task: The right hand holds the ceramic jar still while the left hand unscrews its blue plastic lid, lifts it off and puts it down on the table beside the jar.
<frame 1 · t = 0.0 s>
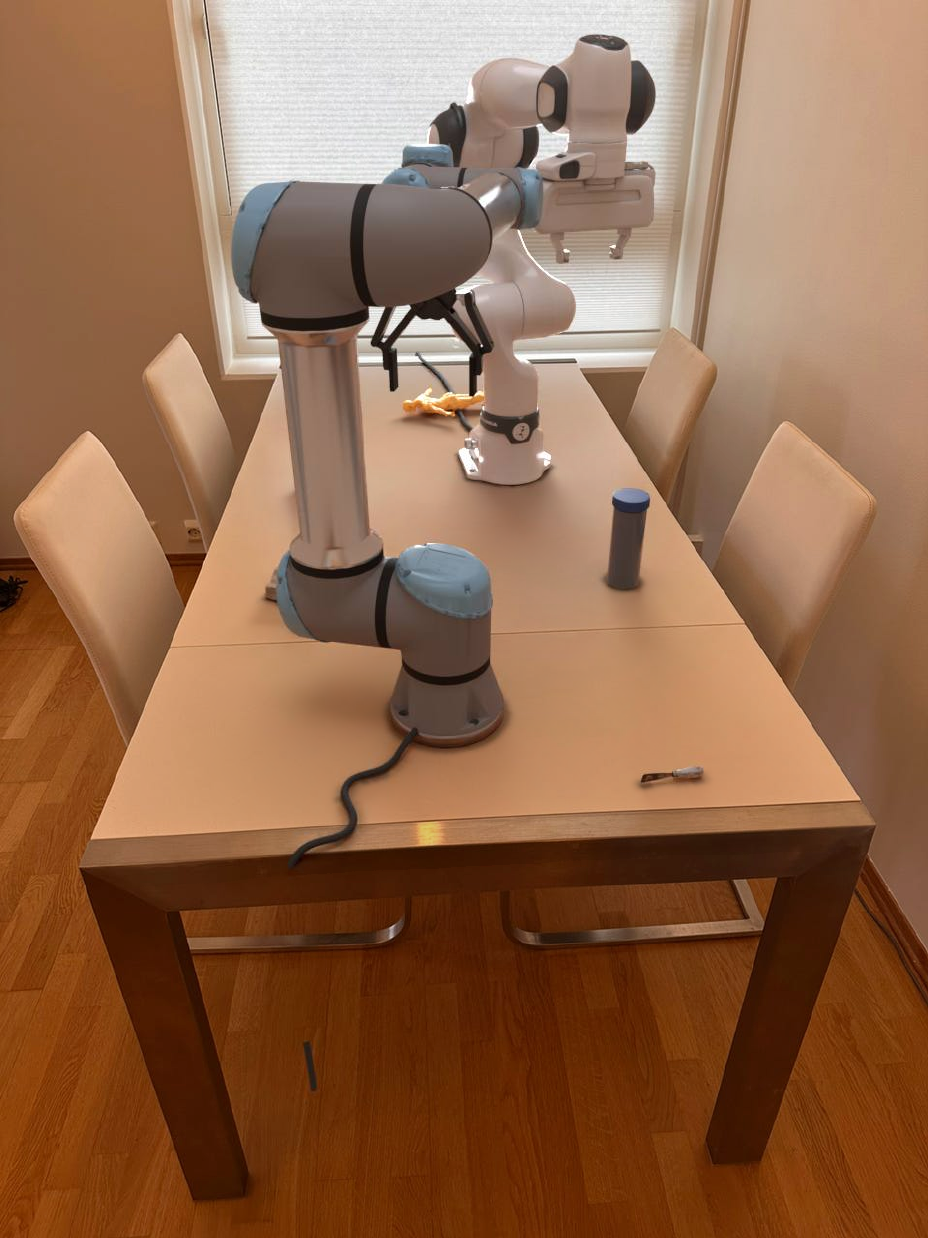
left hand: (433, 391, 149), 28 cm above the table, tool pointing down, fingers open, 13 cm apart
right hand: (589, 260, 142), 48 cm above the table, tool pointing down, fingers open, 8 cm apart
jar: (622, 581, 151), on the table
handgun: (329, 499, 180), on the table
putty knife: (671, 781, 109), on the table
human figure: (450, 410, 226), on the table
stone: (304, 597, 147), on the table
lid: (631, 497, 143), point 16 cm above the table, screwed on, not yet turned
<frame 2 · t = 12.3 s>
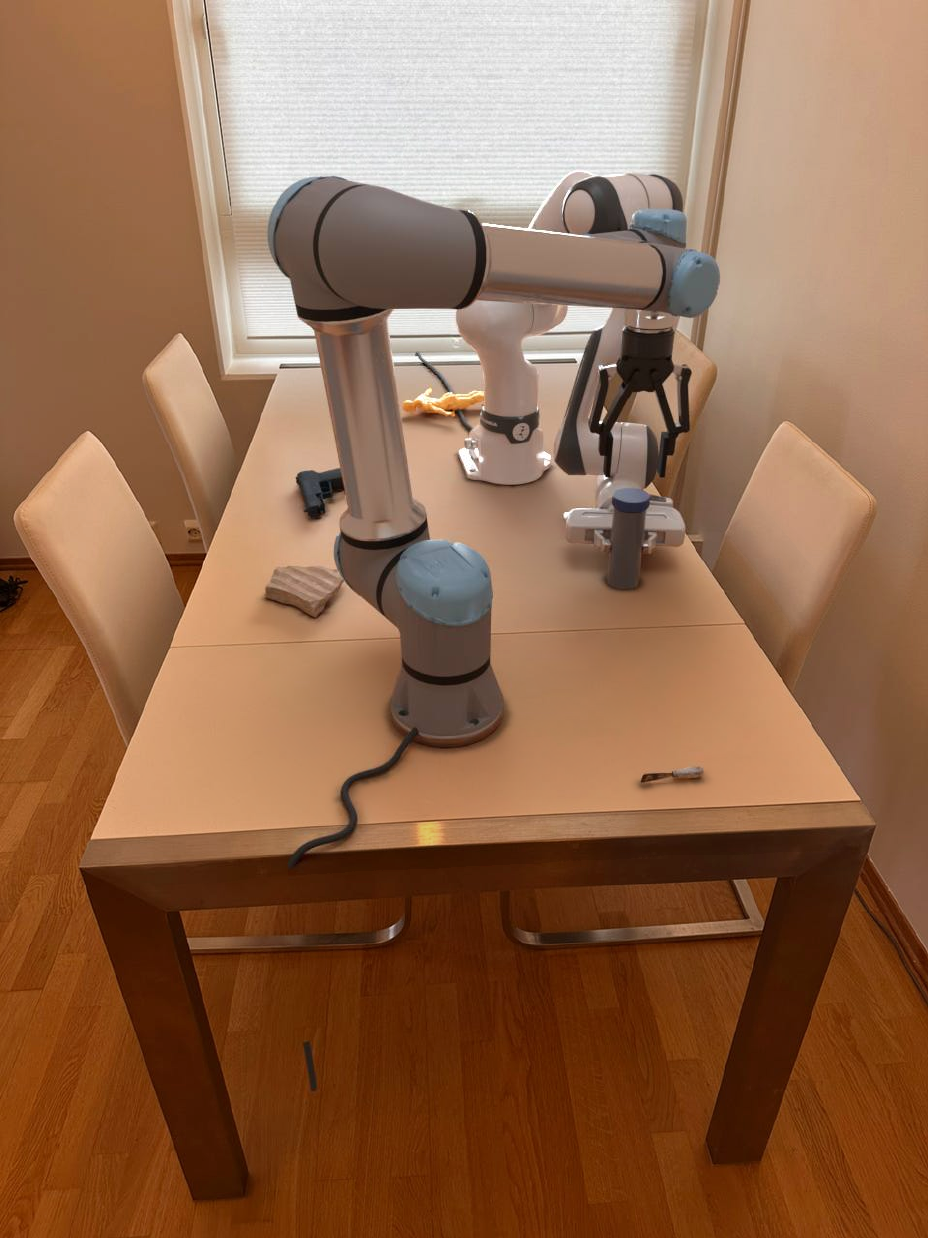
left hand: (633, 474, 141), 20 cm above the table, tool pointing down, fingers open, 8 cm apart
right hand: (626, 549, 147), 7 cm above the table, tool horizontal, fingers closed on jar, 5 cm apart
jar: (622, 581, 151), on the table, touching right hand
everything else where it was.
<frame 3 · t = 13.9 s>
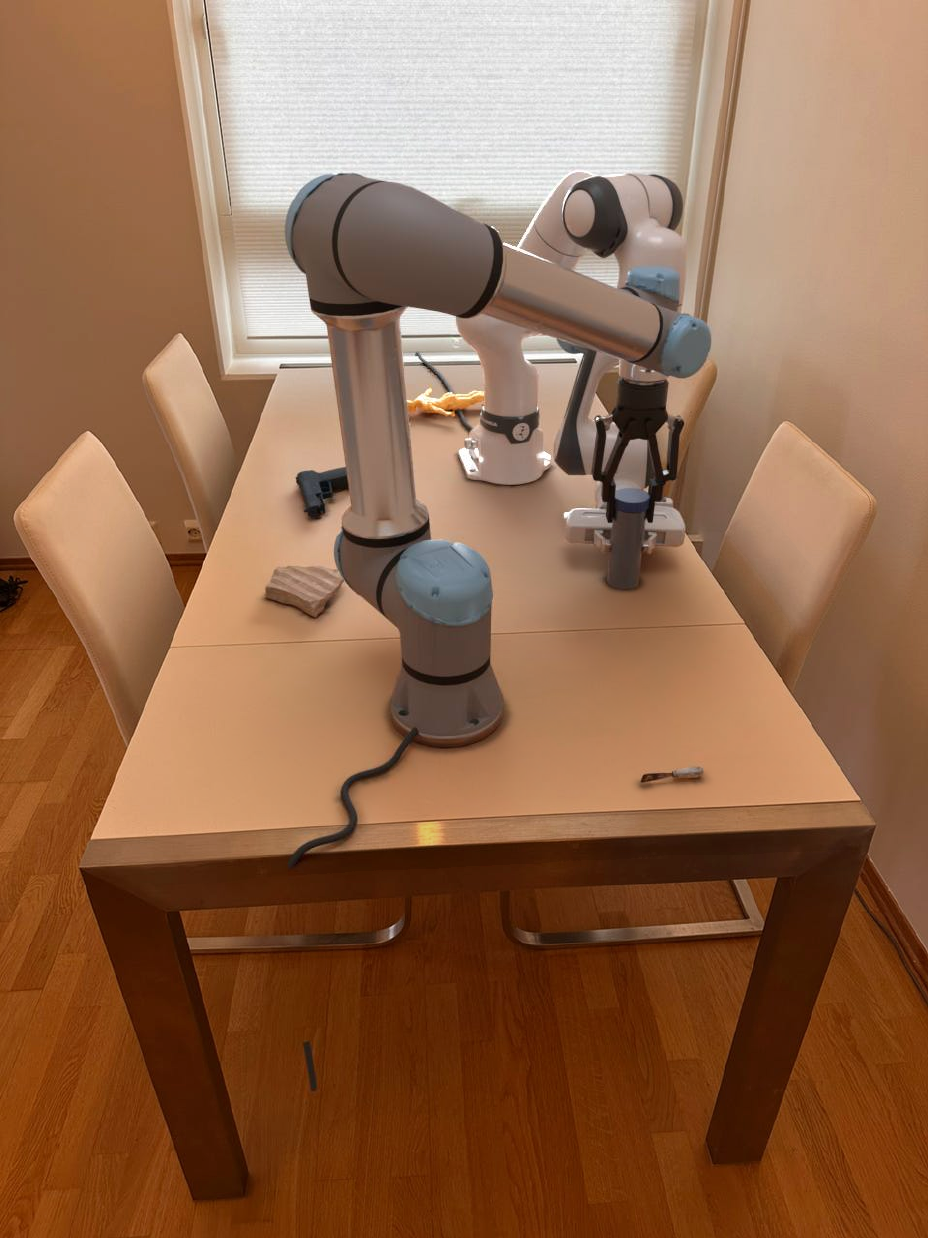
left hand: (629, 518, 145), 12 cm above the table, tool pointing down, fingers closed on lid, 6 cm apart
right hand: (626, 549, 147), 7 cm above the table, tool horizontal, fingers closed on jar, 5 cm apart
jar: (622, 581, 151), on the table, touching right hand
lid: (631, 497, 143), point 16 cm above the table, screwed on, not yet turned, touching left hand
everything else where it was.
when the left hand's fingers open (12 cm above the table, at t = 15.5 s): lid stays where it is, point 16 cm above the table.
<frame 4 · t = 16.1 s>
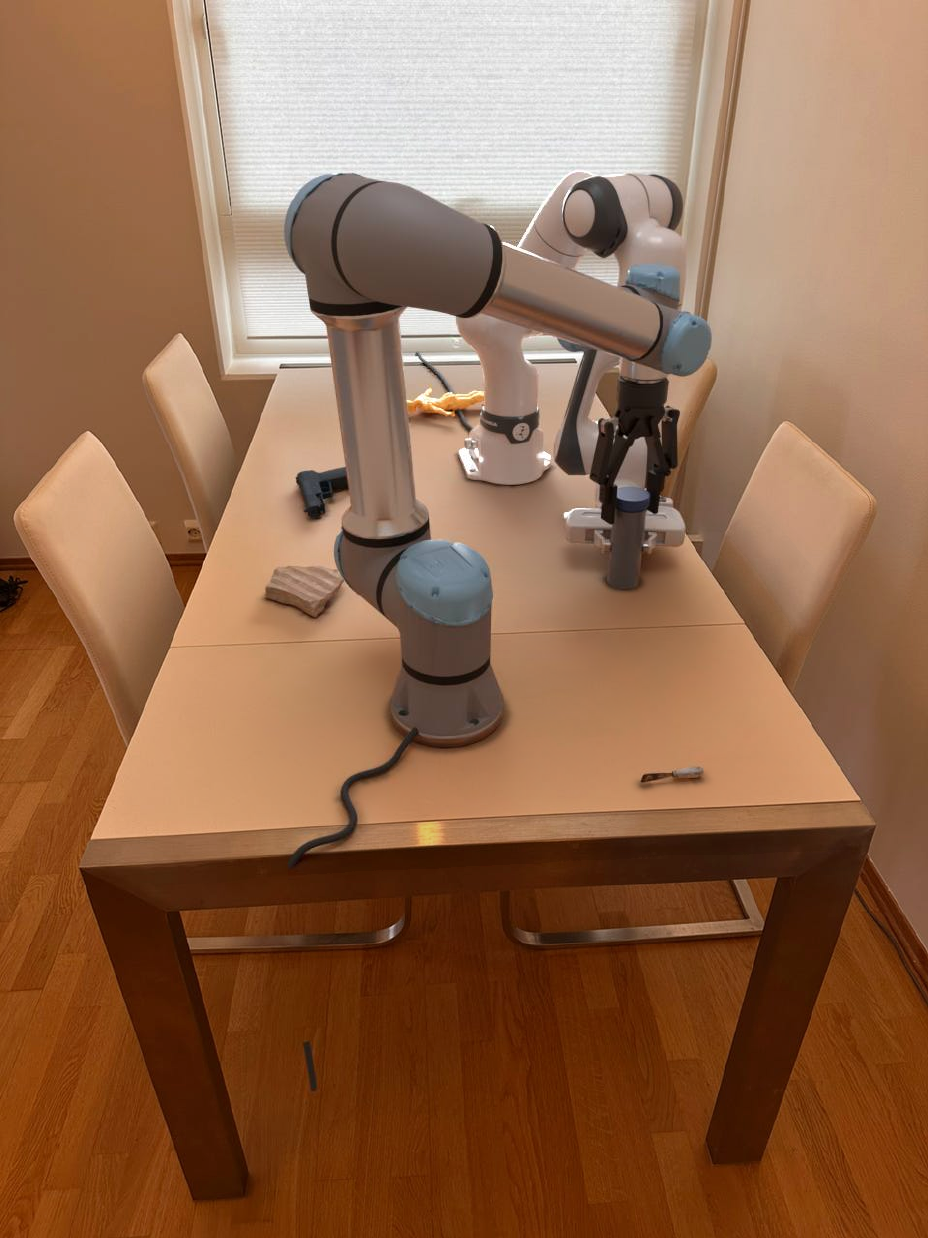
left hand: (629, 515, 145), 12 cm above the table, tool pointing down, fingers open, 8 cm apart
right hand: (626, 549, 147), 7 cm above the table, tool horizontal, fingers closed on jar, 5 cm apart
jar: (622, 581, 151), on the table, touching right hand
lid: (631, 495, 143), point 16 cm above the table, turned 101° so far, risen 0.3 cm, still on its thread
everything else where it was.
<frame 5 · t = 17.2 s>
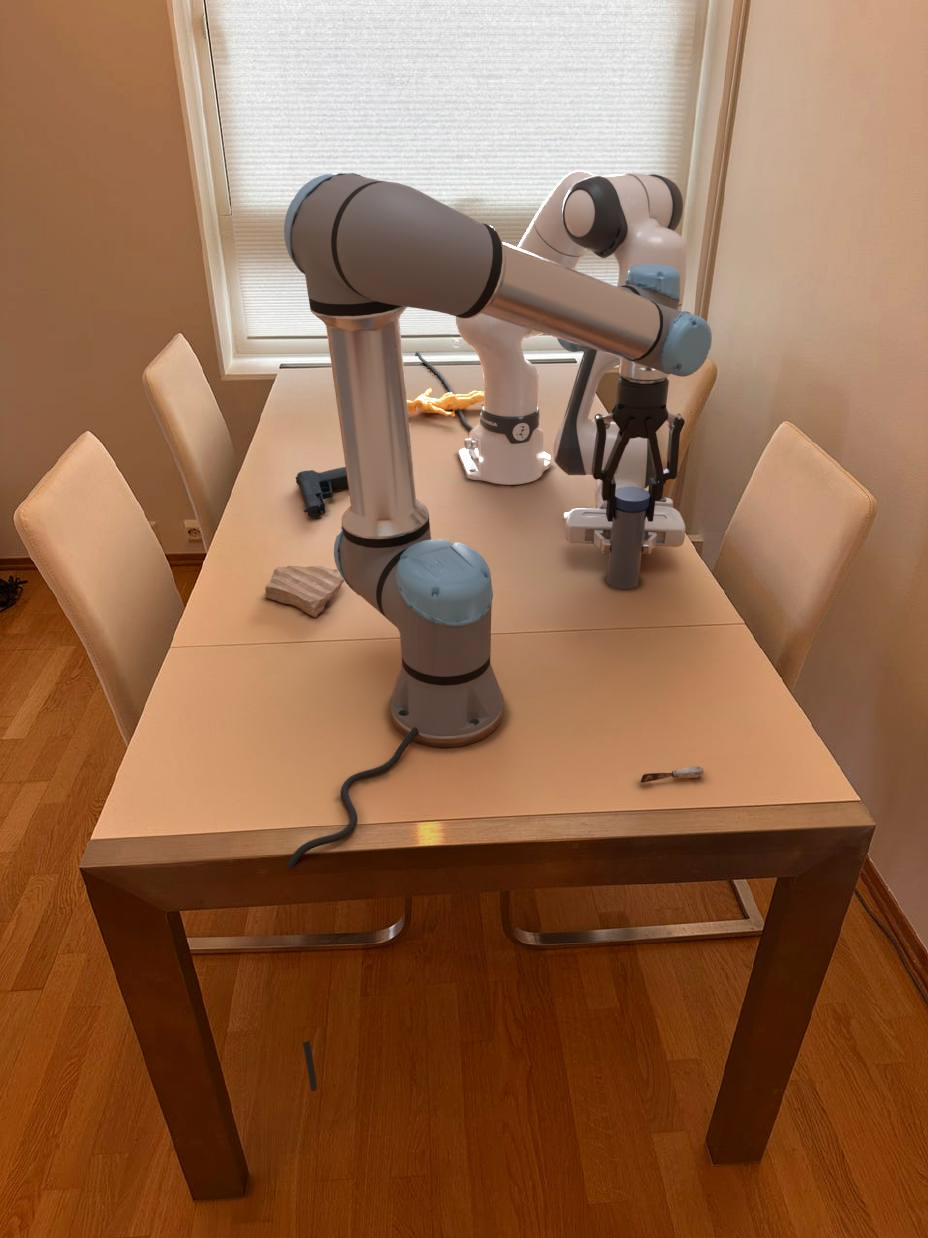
left hand: (629, 517, 145), 12 cm above the table, tool pointing down, fingers closed on lid, 6 cm apart
right hand: (626, 549, 147), 7 cm above the table, tool horizontal, fingers closed on jar, 5 cm apart
jar: (622, 581, 151), on the table, touching right hand
lid: (631, 495, 143), point 16 cm above the table, turned 101° so far, risen 0.3 cm, still on its thread, touching left hand
everything else where it was.
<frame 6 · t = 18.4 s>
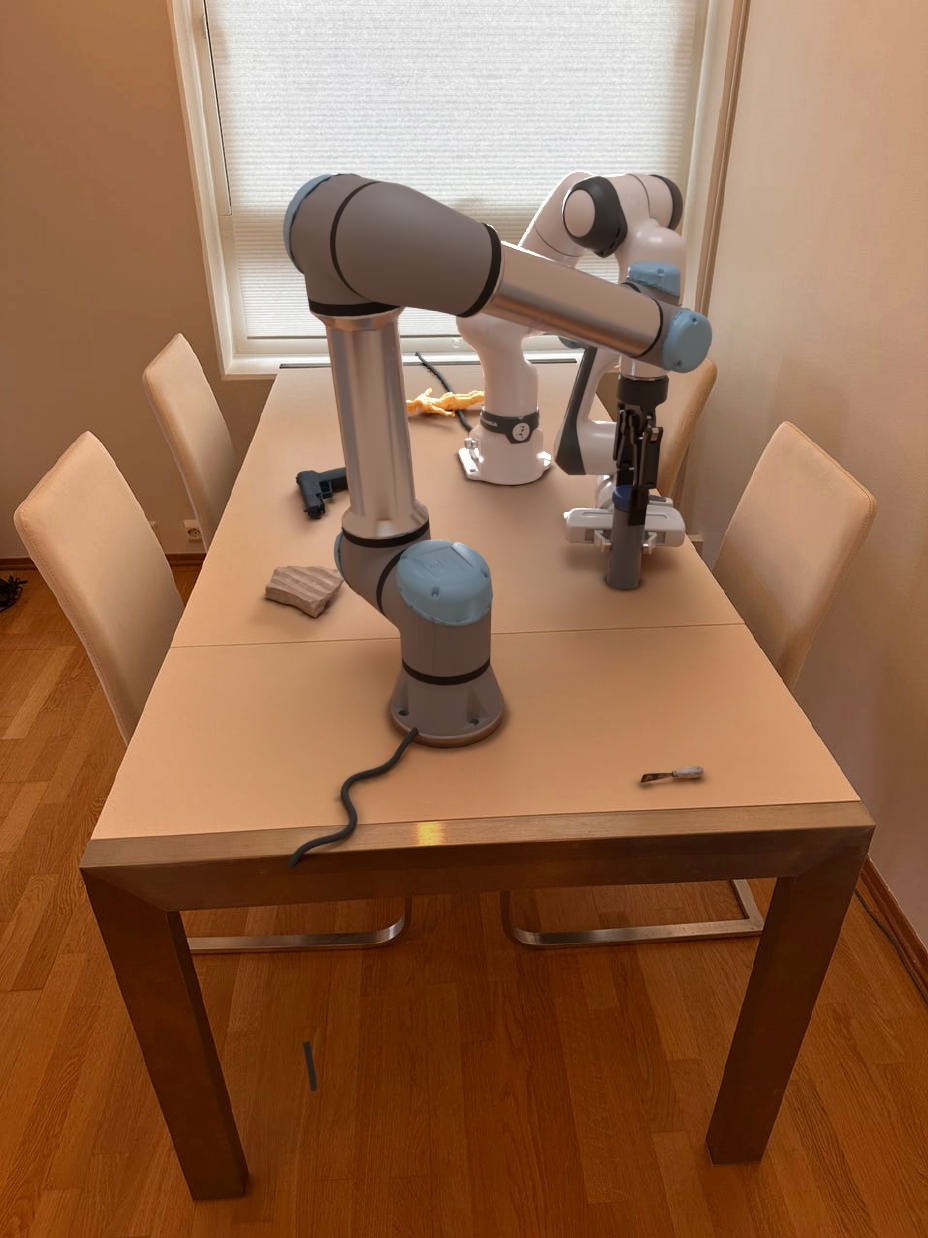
left hand: (629, 515, 145), 12 cm above the table, tool pointing down, fingers closed on lid, 6 cm apart
right hand: (626, 549, 147), 7 cm above the table, tool horizontal, fingers closed on jar, 5 cm apart
jar: (622, 581, 151), on the table, touching right hand
lid: (631, 493, 143), point 16 cm above the table, off its thread, touching left hand
everything else where it was.
when the left hand's fingers open (0 cm above the table, at t = 24.3 s): lid drops 3 cm, point 1 cm above the table.
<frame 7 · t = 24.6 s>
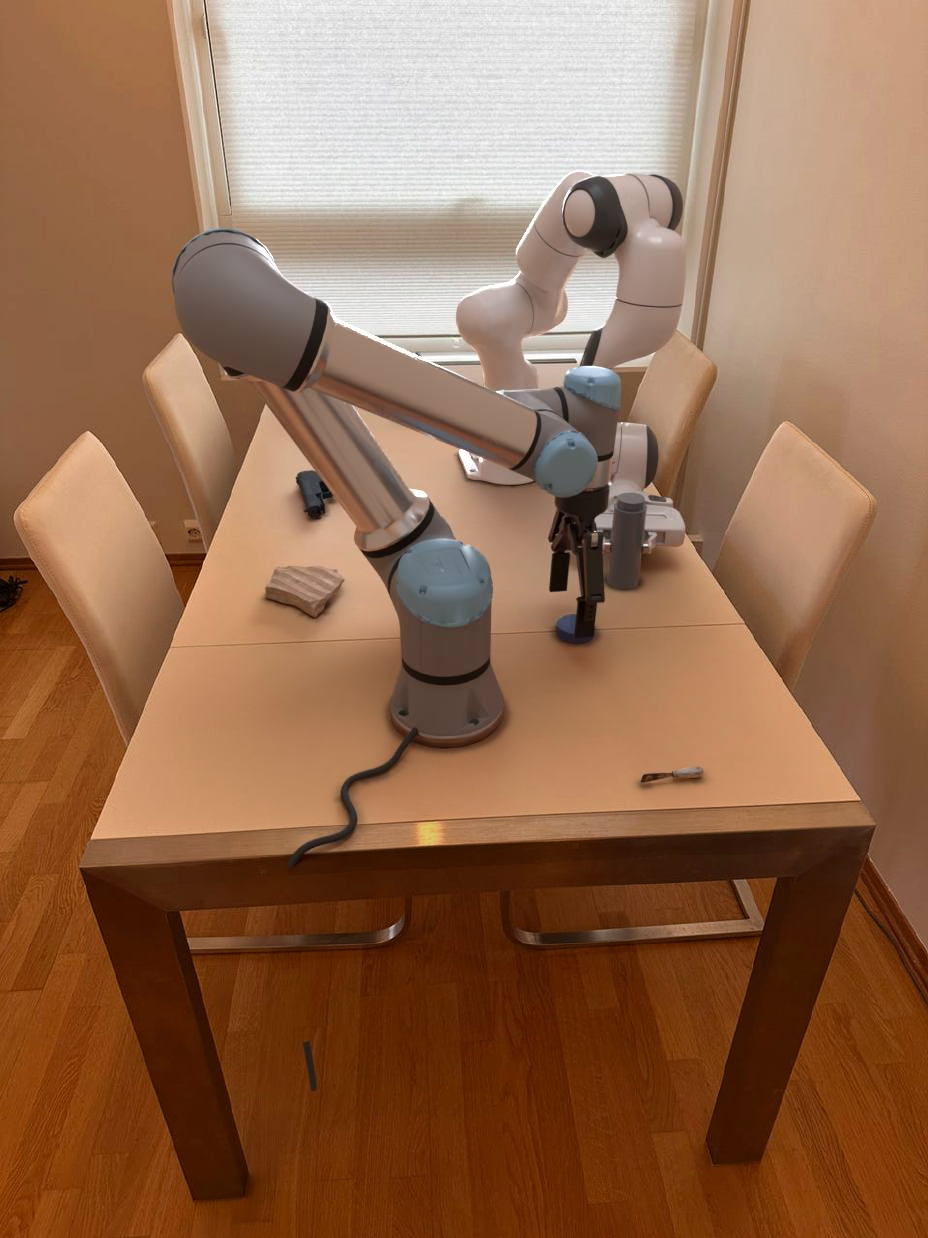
left hand: (570, 612, 135), 4 cm above the table, tool pointing down, fingers open, 13 cm apart
right hand: (626, 549, 147), 7 cm above the table, tool horizontal, fingers closed on jar, 5 cm apart
jar: (622, 581, 151), on the table, touching right hand
lid: (575, 625, 137), point 1 cm above the table, off its thread
everything else where it was.
when the right hand's fingers open (7 cm above the table, at t = 25.0 s): jar stays where it is, on the table.
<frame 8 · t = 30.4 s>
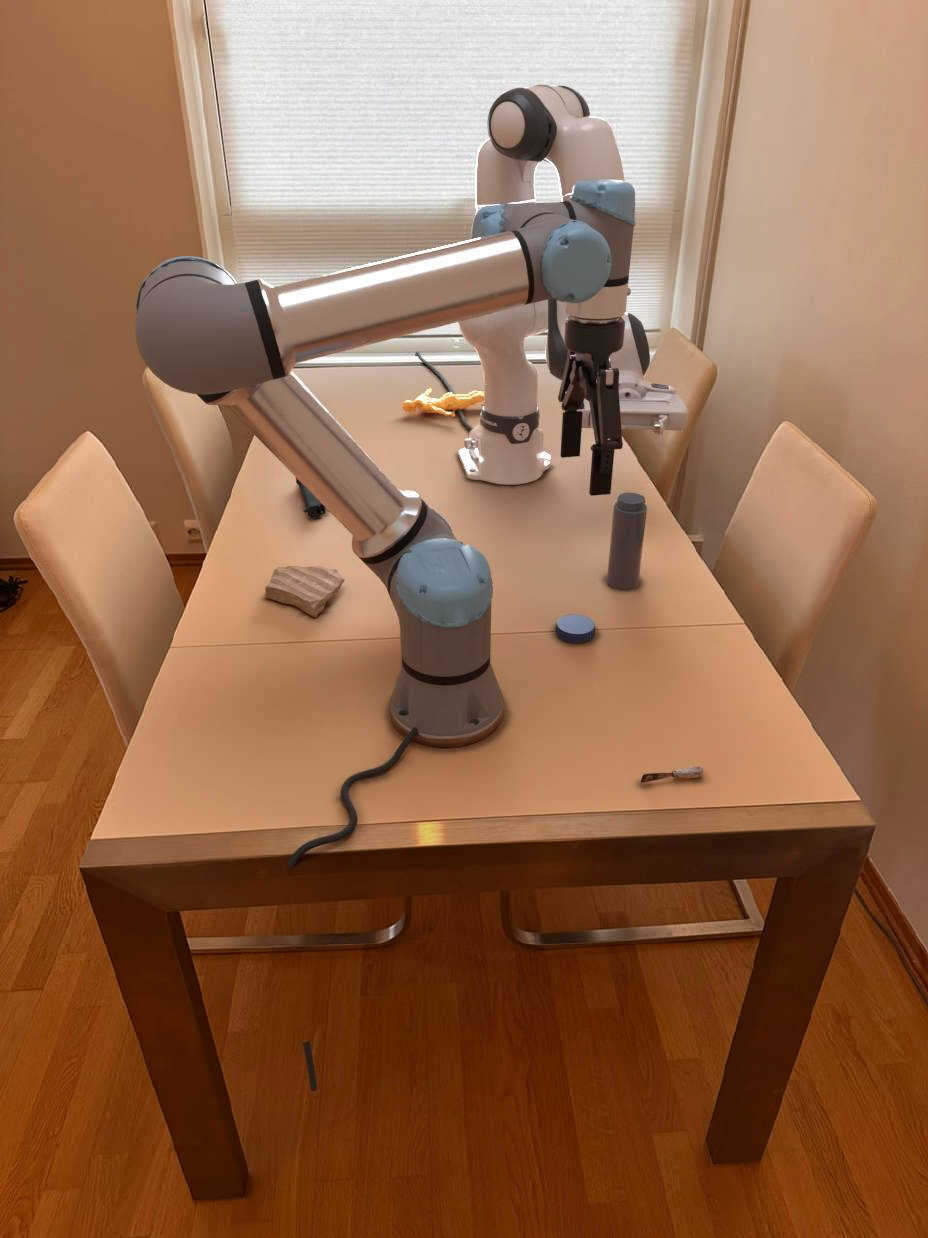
left hand: (584, 474, 124), 26 cm above the table, tool pointing down, fingers open, 13 cm apart
right hand: (630, 429, 149), 23 cm above the table, tool horizontal, fingers open, 8 cm apart
jar: (622, 581, 151), on the table
everything else where it was.
at the end: lid came off its thread; lid point 1.3 cm above the table; the left hand is holding nothing; the right hand is holding nothing; jar tilted 0°; jar moved 0.0 cm from its start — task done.
